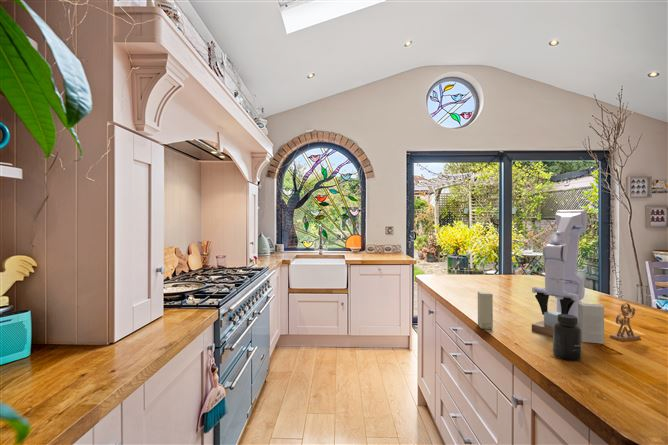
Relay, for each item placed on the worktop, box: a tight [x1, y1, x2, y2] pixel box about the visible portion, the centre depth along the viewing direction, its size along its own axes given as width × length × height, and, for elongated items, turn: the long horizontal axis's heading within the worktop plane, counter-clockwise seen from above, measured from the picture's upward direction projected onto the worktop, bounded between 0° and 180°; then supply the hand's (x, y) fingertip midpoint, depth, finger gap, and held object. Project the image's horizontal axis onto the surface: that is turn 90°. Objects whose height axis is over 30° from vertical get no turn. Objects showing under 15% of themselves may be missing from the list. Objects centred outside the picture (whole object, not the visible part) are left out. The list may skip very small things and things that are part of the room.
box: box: [477, 290, 494, 330], centre depth 124 cm, size 5×4×13 cm
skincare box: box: [577, 302, 605, 345], centre depth 111 cm, size 6×4×12 cm
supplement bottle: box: [552, 314, 582, 362], centre depth 98 cm, size 7×7×12 cm
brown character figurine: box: [609, 302, 641, 342], centre depth 113 cm, size 9×4×12 cm, turn 105°
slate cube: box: [543, 310, 561, 327], centre depth 119 cm, size 4×4×4 cm
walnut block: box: [531, 320, 553, 338], centre depth 119 cm, size 10×10×3 cm
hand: (554, 316), depth 119 cm, fingers open, 6 cm apart
